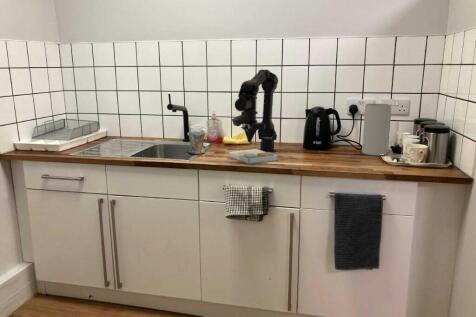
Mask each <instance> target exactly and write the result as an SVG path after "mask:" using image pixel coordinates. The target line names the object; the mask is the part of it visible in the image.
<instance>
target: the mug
mask: <svg viewBox="0 0 476 317" xmlns="http://www.w3.org/2000/svg"><path fill="white" fill-rule="evenodd" d="M205 135H206V132H205V131H189V132H187V136H188V139H189V144H190V146H189V150H188V153H189V154H192V155H200V154H204V153H205V152H206V150H205V147H204V146H205V145H204V141H205V140H204V138H205Z"/></svg>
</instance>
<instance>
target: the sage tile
mask: <svg viewBox="0 0 476 317" xmlns="http://www.w3.org/2000/svg"><path fill="white" fill-rule="evenodd" d="M244 157H246V158H249V159H250V158H258V156H257V155H255V154H245V155H244Z"/></svg>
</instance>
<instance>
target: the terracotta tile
mask: <svg viewBox="0 0 476 317" xmlns="http://www.w3.org/2000/svg"><path fill="white" fill-rule="evenodd" d="M270 153H271V152H270ZM270 153H267V152H264V153H258V157H266V156H272V154H273V153H272V154H270Z"/></svg>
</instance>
